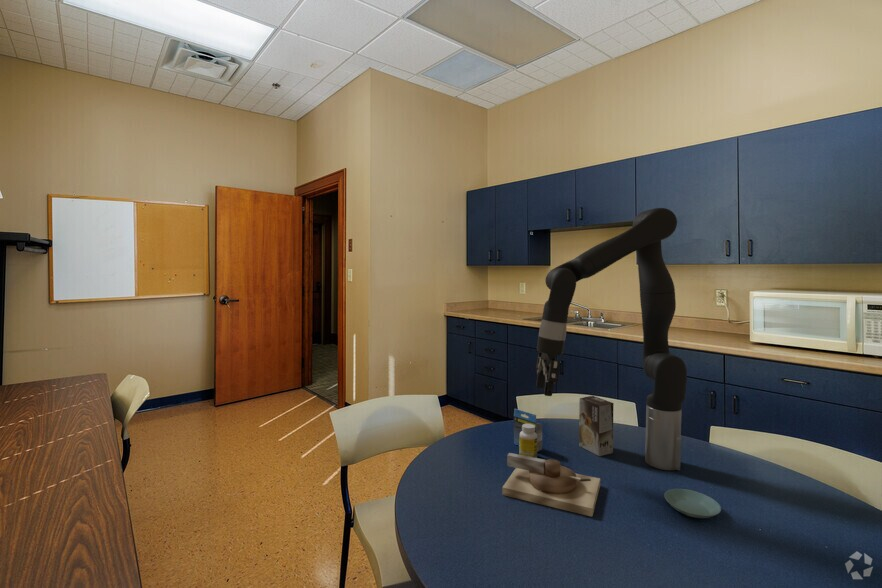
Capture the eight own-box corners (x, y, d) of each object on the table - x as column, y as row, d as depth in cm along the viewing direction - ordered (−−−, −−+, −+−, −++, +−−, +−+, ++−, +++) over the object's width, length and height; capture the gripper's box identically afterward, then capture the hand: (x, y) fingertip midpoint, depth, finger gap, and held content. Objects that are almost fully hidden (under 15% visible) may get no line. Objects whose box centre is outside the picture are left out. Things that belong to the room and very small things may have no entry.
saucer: (719, 505, 105) (719, 496, 105) (722, 530, 95) (722, 520, 95) (665, 492, 111) (665, 484, 111) (662, 515, 101) (662, 505, 101)
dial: (583, 477, 114) (583, 458, 114) (576, 498, 103) (576, 478, 103) (514, 462, 123) (514, 445, 122) (501, 481, 112) (501, 462, 112)
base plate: (600, 485, 114) (600, 477, 114) (592, 516, 100) (592, 507, 100) (519, 468, 124) (519, 461, 124) (502, 494, 110) (502, 486, 110)
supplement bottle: (537, 461, 129) (537, 429, 128) (519, 459, 130) (519, 428, 129) (536, 453, 134) (537, 423, 134) (519, 452, 135) (519, 422, 135)
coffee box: (614, 453, 135) (615, 403, 134) (598, 456, 132) (599, 405, 131) (592, 442, 143) (593, 395, 142) (577, 445, 140) (578, 397, 139)
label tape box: (542, 449, 137) (543, 412, 137) (535, 453, 135) (536, 415, 134) (520, 441, 144) (520, 405, 143) (513, 445, 141) (513, 408, 140)
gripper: (573, 342, 117) (563, 400, 117) (557, 334, 131) (549, 386, 132) (546, 338, 116) (537, 397, 117) (533, 331, 130) (525, 383, 131)
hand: (543, 391), depth 124 cm, fingers open, 8 cm apart
